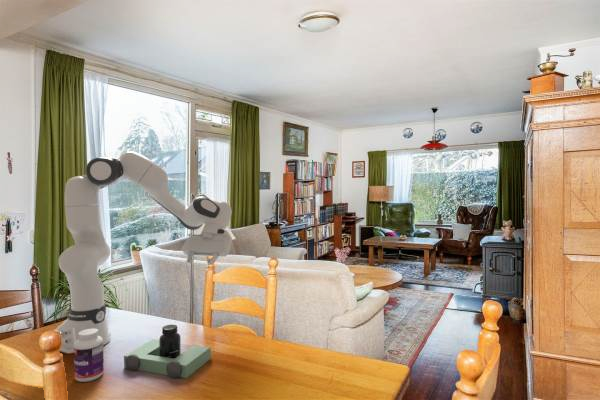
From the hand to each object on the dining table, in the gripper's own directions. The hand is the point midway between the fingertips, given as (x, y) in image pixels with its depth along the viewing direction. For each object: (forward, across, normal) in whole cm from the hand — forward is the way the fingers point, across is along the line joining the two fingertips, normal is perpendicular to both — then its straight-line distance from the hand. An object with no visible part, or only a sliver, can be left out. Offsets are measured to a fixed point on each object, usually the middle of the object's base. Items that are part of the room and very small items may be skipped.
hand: (199, 263), depth 149 cm
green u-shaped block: (+36, +2, +5) cm, 37 cm away
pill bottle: (+47, -16, -6) cm, 50 cm away
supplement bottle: (+36, +2, +6) cm, 37 cm away
